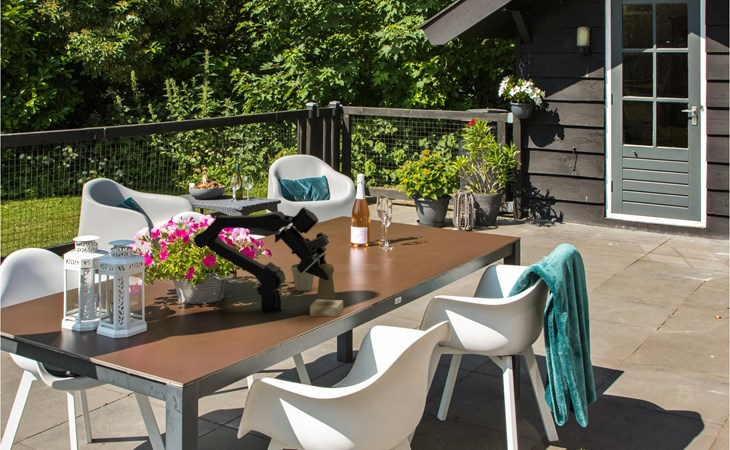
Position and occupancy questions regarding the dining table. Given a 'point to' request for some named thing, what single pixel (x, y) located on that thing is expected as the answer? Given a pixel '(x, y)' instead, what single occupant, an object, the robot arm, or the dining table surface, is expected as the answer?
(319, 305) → the beige square block
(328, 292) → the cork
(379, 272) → the dining table surface
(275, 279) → the robot arm
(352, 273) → the dining table surface
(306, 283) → the flower pot
